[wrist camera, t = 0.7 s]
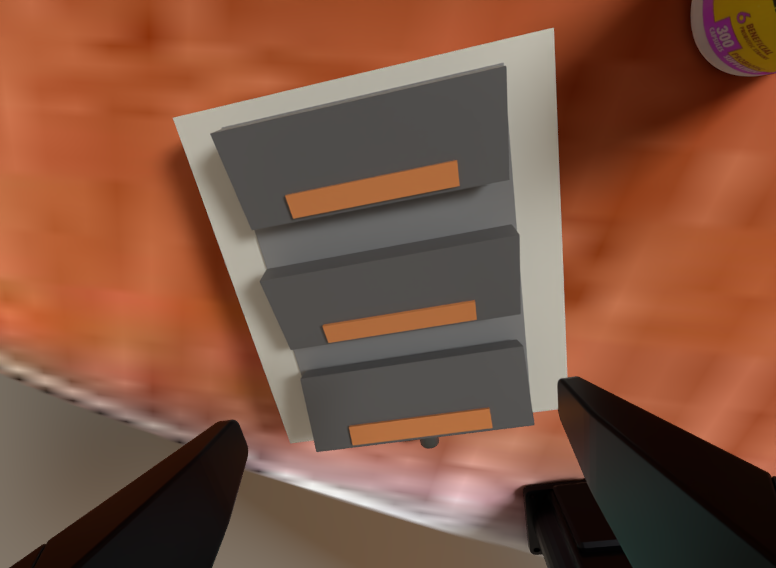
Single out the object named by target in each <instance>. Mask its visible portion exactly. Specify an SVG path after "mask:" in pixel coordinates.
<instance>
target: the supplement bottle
mask: <svg viewBox="0 0 776 568" xmlns="http://www.w3.org/2000/svg"><path fill="white" fill-rule="evenodd" d="M691 29H692V33H693V37H694V40H695V43H696V45H697V47H698V49H699V51H700V53H701V54H702V55H703V56H704V58H705V59H706V60H707V61H708V62H709V63H710V64H712V65H713V66H714V67H716V68H718V69H719V70H721V71H723V72H726V73H729V74H733V75H737V76H761V75H767V74H773V73H776V0H692V4H691Z"/></svg>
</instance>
